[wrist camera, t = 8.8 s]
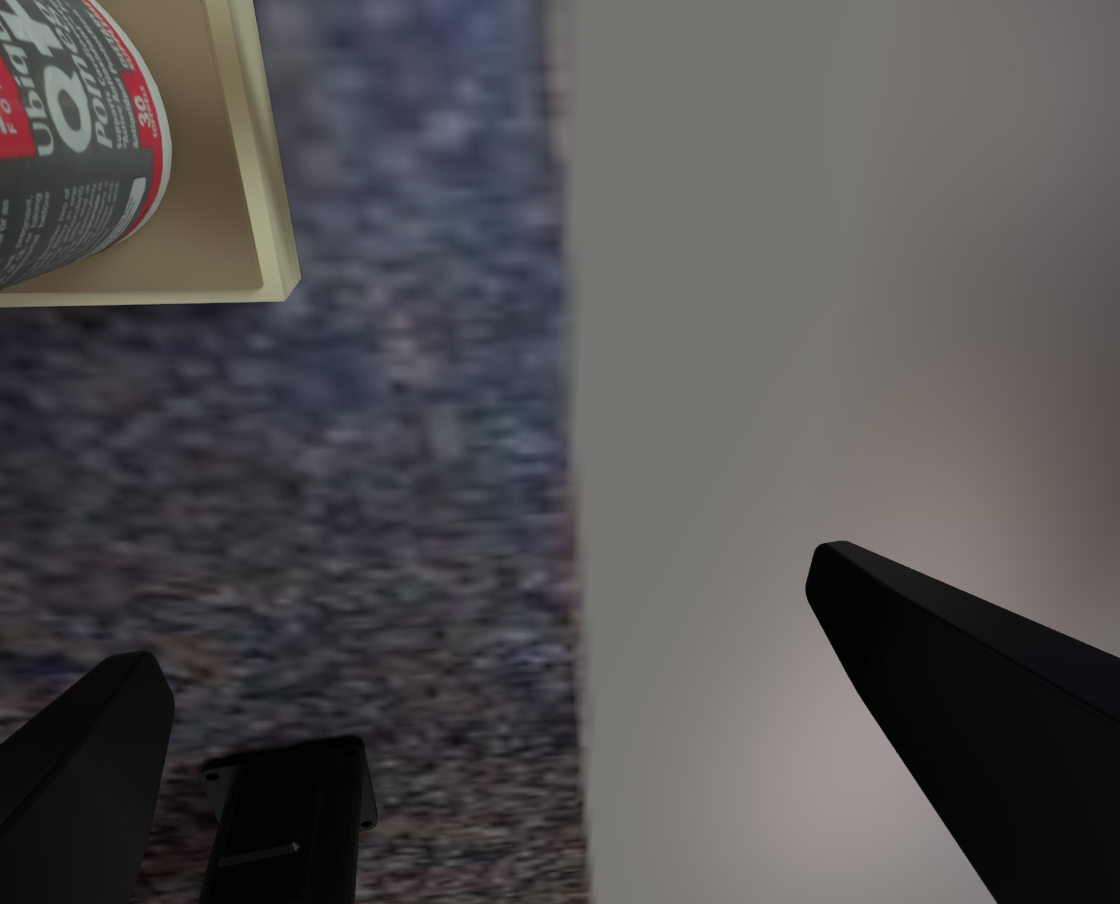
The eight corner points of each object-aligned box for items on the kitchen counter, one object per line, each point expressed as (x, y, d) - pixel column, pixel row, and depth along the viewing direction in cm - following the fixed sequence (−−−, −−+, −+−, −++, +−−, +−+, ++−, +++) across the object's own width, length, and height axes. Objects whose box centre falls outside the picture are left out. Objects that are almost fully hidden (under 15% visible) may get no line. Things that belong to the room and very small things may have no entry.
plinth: (301, 278, 17) (281, 305, 14) (-33, 282, 15) (-123, 314, 12) (235, -94, 13) (193, -148, 10) (-222, -144, 11) (-410, -225, 9)
